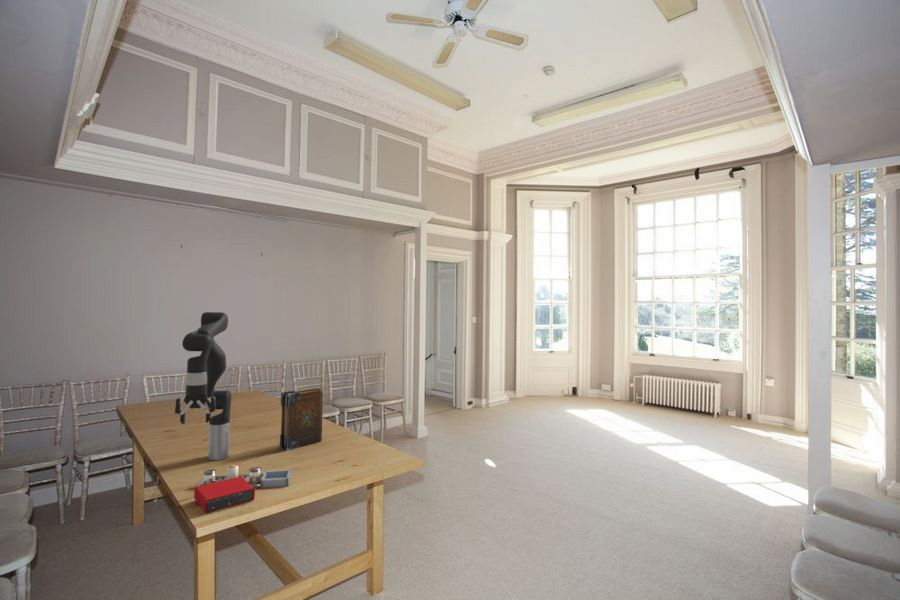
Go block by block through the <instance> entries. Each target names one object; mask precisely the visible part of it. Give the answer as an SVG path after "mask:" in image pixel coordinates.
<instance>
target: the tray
mask: <svg viewBox="0 0 900 600" xmlns="http://www.w3.org/2000/svg"><path fill="white" fill-rule="evenodd" d="M263 473H264V474H263V476H261V478H260V481H261V485H260V489H262V488H263V489H264V488H275V487H276V488H278V487H280V488H281V487H289V484H290V481H291V478H292V470H291V469H281V470H266V471H265V470H264V472H263Z"/></svg>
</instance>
